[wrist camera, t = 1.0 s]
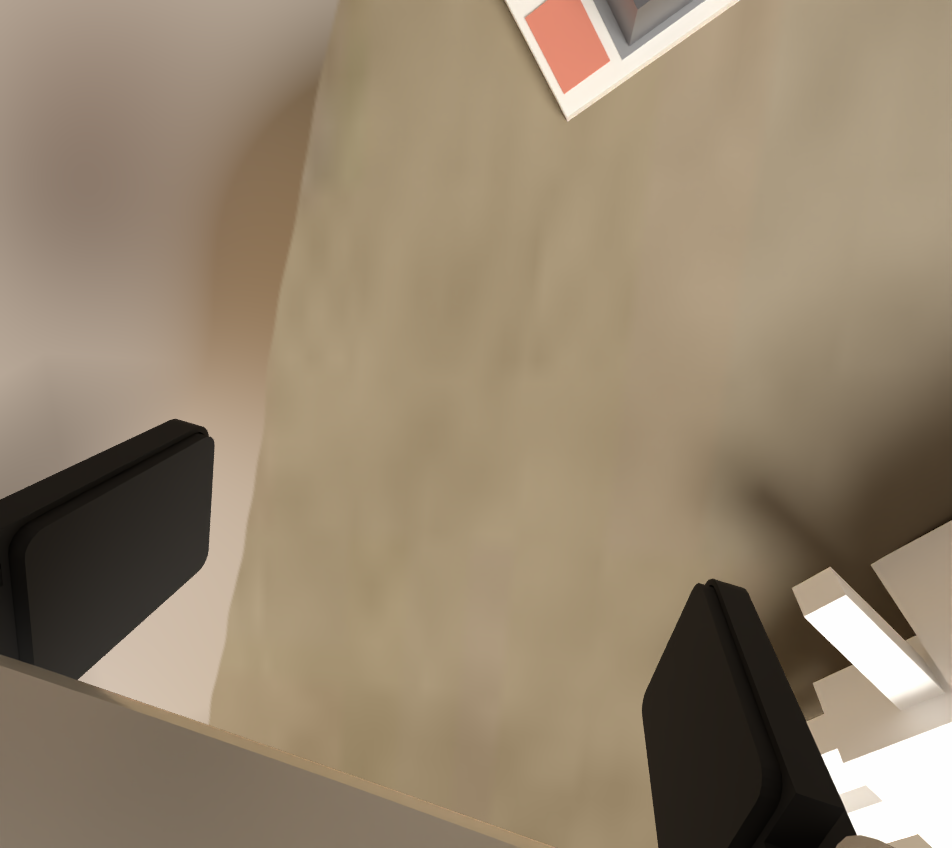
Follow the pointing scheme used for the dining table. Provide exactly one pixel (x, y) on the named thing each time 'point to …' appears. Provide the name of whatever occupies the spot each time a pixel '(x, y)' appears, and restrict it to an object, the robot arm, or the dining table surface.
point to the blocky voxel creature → (890, 694)
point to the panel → (604, 40)
